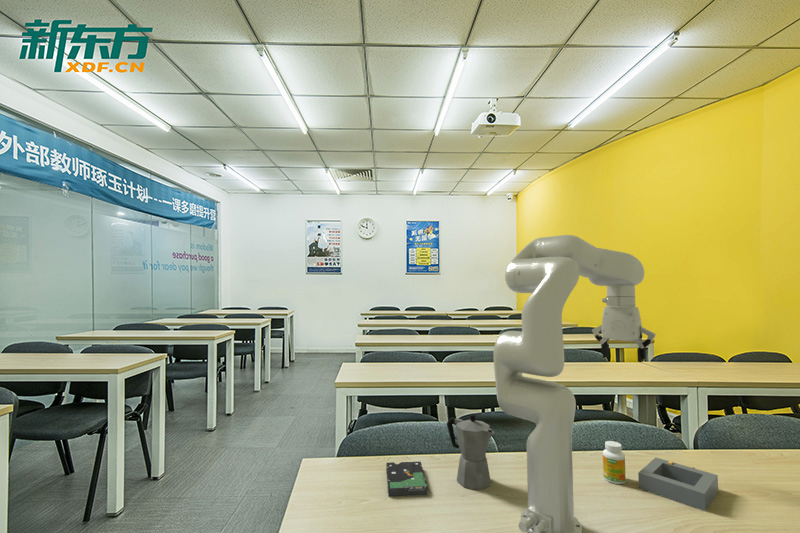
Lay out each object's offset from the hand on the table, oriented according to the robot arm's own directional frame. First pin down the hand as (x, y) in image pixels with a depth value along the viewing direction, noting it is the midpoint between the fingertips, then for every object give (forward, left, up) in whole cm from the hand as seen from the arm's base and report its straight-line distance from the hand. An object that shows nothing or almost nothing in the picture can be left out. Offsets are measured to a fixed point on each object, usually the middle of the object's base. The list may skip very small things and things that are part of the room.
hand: (623, 359), depth 116 cm
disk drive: (-56, +36, -32) cm, 74 cm away
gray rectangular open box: (0, -14, -31) cm, 34 cm away
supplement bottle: (-12, -1, -31) cm, 34 cm away
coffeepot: (-42, +25, -31) cm, 58 cm away
